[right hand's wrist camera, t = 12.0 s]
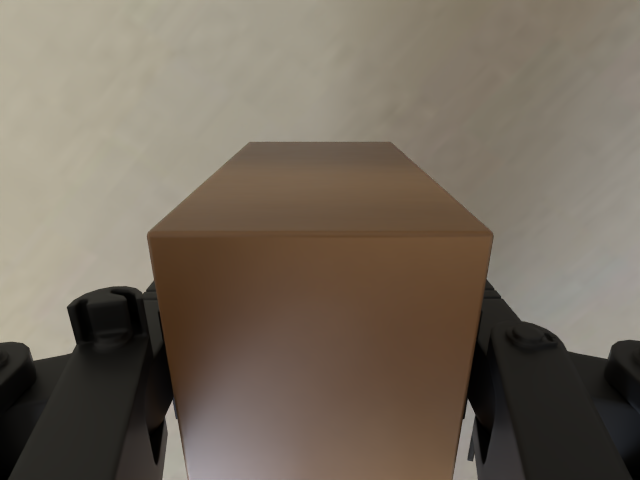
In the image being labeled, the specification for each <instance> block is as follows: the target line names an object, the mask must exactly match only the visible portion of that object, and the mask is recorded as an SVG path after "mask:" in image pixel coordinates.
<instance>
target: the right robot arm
mask: <svg viewBox="0 0 640 480" xmlns="http://www.w3.org/2000/svg"><path fill="white" fill-rule="evenodd" d="M67 310H68V313H69V317H70V321H71V325H72V329H73V332H74V336H75V340H76V344H77V345H76V347H75V349H74V350H73V352H72V353H71V354H67V355H62V356H57V357H52V358H46V359H41V360H36V361H33V359H32V355H31V352H30V349H29V347H27V346H26V345H25V344H23V343H17V342H5V343H0V480H162V477H163V468H164V460H165V452H166V444H167V436H168V432H167V426H166V420H165V415H166V413H167V411H168V408H169V406H170V404H171V402H172V400H173V405H174V410H175V416H176V419H178V418H177V412H176V406H175V400H174V394H173V388H172V382H171V376H170V370H169V365H168V359H167V353H166V347H165V341H164V335H163V329H162V323H161V317H160V311H159V305H158V299H157V293H156V287H155V281H153V282H152V284H151V285H150V286H149V287H148V289H147V290H146V292H144V293H143V295H142V292H141V291H139V290H138V289H136V288H132V287H127V286H118V287H108V288H103V289H98V290H95V291H92V292H89V293H86V294H84V295H82V296H81V297H79V298H77V299H75V300H74V301H73V302H72V303H71V304H69V305H68V306H67ZM468 399H469V401H470V404H471V406H472V408H473V410H474V412H475V414H476V415H475V420H474V426H473V431H472V436H471V442H470V447H469V453H468V461H473V458H474V453H475V459H476V467H477V475H478V480H640V341H635V340H625V341H618V342H617V343H615V344H614V345H612V347H611V350H610V353H609V357H608V359H604V358H598V357H593V356H588V355H582V354H577V353H573V352H569V351H567V350H566V348H565V346H564V344H563V343H562V341H561V340H560V339H559V338H558V337H557V336H556V335H555V334H553V333H552V332H550V331H549V330H547V329H545V328H543V327H540V326H538V325H535V324H532V323H528V322H523V321H521V320H520V319H519V318H518V317H517V315H516V314H515V313H514V312H513V311H512V309H511V308H510V307H509V306H508V305H507V303H506V302H505V301H504V300H503V299H501V296H500V295H499V294H498V292H497V291H496V290H494V288H493V286H492V285H491V284H490V283H489V282H488V280H487V279H486V284H485V290H484V296H483V302H482V308H481V314H480V320H479V325H478V331H477V337H476V343H475V349H474V355H473V361H472V367H471V373H470V379H469V385H468V391H467V397H466V402H465V408H464V414H463V419H464V418H465V412H466V406H467V400H468Z"/></svg>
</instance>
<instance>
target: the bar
mask: <svg viewBox="0 0 640 480" xmlns="http://www.w3.org/2000/svg"><path fill="white" fill-rule="evenodd" d="M147 240H148V246H149V252H150V258H151V264H152V269H153V275H154V281H155V287H156V293H157V299H158V305H159V311H160V317H161V323H162V329H163V335H164V341H165V347H166V353H167V359H168V365H169V370H170V376H171V382H172V388H173V394H174V400H175V406H176V412H177V418H178V424H179V430H180V436H181V442H182V448H183V454H184V460H185V466H186V471H187V477H188V480H452V479H453V473H454V468H455V462H456V456H457V450H458V444H459V438H460V432H461V426H462V420H463V414H464V408H465V402H466V397H467V391H468V385H469V379H470V373H471V367H472V361H473V355H474V349H475V343H476V337H477V331H478V325H479V320H480V314H481V308H482V302H483V296H484V290H485V284H486V278H487V272H488V266H489V260H490V254H491V249H492V243H493V233H492V231H491V230H489V229H488V228H487V227H486V226H485V225H484V224H483V223H482V222H480V221H479V220H478V219H477V218H476V217H475V216H474V215H473V214H471V213H470V212H469V211H468V210H467V209H466V208H465V207H464V206H462V205H461V204H460V203H459V202H458V201H457V200H456V199H454V198H453V197H452V196H451V195H450V194H449V193H448V192H447V191H445V190H444V189H443V188H442V187H441V186H440V185H439V184H438V183H436V182H435V181H434V180H433V179H432V178H431V177H430V176H429V175H427V174H426V173H425V172H424V171H423V170H422V169H421V168H419V167H418V166H417V165H416V164H415V163H414V162H413V161H412V160H410V159H409V158H408V157H407V156H406V155H405V154H404V153H403V152H401V151H400V150H399V149H398V148H397V147H396V146H395V145H394V144H392V143H391V142H249V143H248V144H247V145H246V146H244V147H243V148H242V149H241V150H240V151H239V152H238V153H237V154H235V155H234V156H233V157H232V158H231V159H230V160H229V161H228V162H226V163H225V164H224V165H223V166H222V167H221V168H220V169H219V170H217V171H216V172H215V173H214V174H213V175H212V176H211V177H210V178H208V179H207V180H206V181H205V182H204V183H203V184H202V185H201V186H199V187H198V188H197V189H196V190H195V191H194V192H193V193H192V194H190V195H189V196H188V197H187V198H186V199H185V200H184V201H182V202H181V203H180V204H179V205H178V206H177V207H176V208H175V209H173V210H172V211H171V212H170V213H169V214H168V215H167V216H166V217H164V218H163V219H162V220H161V221H160V222H159V223H158V224H157V225H155V226H154V227H153V228H152V229H151V230H150V231H149V232H148V234H147Z"/></svg>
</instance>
